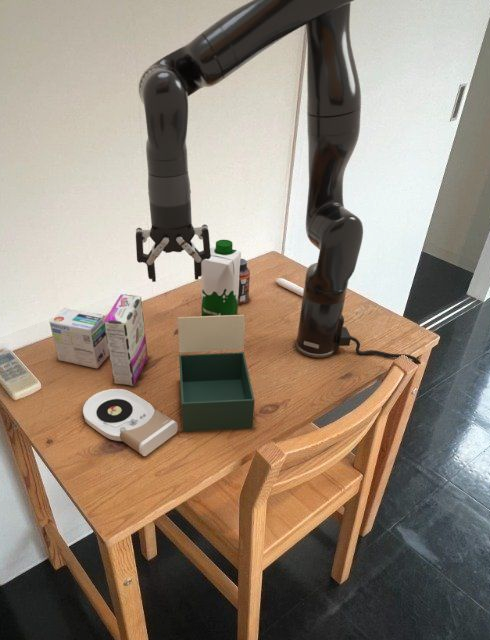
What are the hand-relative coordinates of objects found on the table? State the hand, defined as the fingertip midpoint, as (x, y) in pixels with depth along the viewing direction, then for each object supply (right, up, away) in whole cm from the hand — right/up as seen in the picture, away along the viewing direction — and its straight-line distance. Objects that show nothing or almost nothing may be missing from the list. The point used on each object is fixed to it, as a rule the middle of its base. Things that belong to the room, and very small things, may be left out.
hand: (175, 278), depth 103 cm
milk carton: (+10, -4, +30) cm, 32 cm away
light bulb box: (-22, -14, +18) cm, 32 cm away
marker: (+32, +5, +40) cm, 52 cm away
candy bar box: (-11, -18, +14) cm, 25 cm away
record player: (-10, -29, +1) cm, 31 cm away
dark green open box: (+8, -25, +5) cm, 27 cm away
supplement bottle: (+15, +3, +38) cm, 41 cm away
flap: (+7, -11, +3) cm, 13 cm away
